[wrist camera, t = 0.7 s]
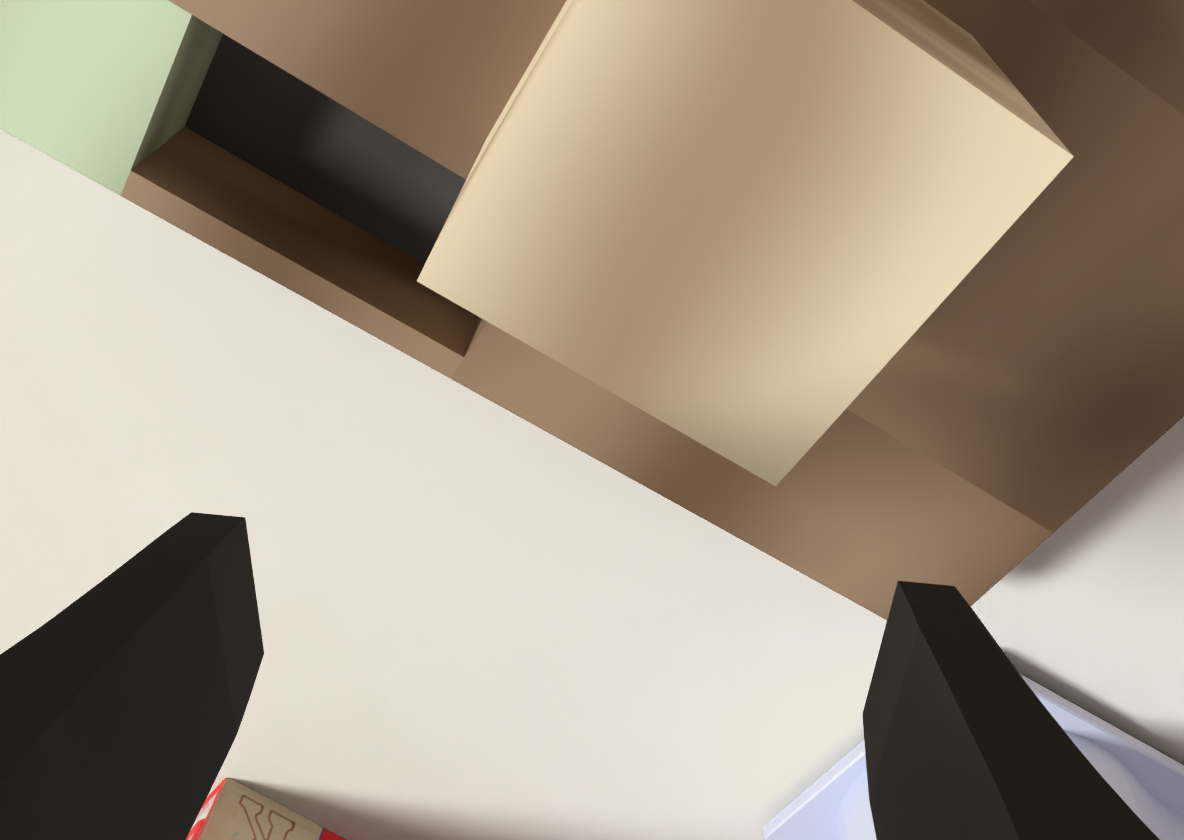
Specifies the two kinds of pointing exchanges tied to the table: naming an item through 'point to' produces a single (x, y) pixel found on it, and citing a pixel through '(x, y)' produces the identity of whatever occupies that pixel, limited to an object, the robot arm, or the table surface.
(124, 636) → the robot arm
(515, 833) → the table surface
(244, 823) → the stack of blocks
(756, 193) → the maple block
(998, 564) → the trap board
